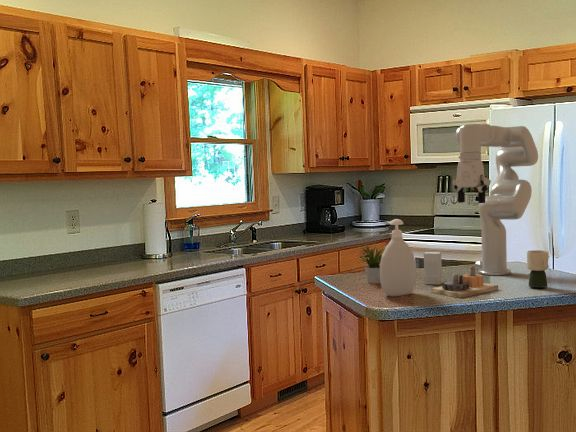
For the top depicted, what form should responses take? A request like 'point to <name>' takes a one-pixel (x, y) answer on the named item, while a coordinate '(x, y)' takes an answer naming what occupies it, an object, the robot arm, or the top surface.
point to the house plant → (372, 264)
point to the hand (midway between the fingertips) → (471, 202)
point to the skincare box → (432, 268)
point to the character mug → (537, 267)
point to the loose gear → (473, 280)
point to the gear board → (465, 293)
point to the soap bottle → (397, 265)
